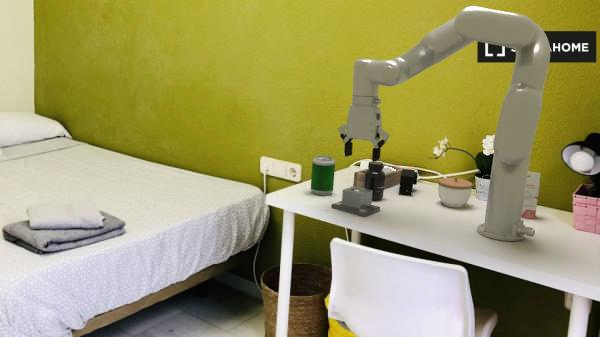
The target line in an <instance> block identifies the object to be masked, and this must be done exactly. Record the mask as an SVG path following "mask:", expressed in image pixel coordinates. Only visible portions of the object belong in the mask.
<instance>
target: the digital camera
mask: <svg viewBox="0 0 600 337" xmlns="http://www.w3.org/2000/svg"><path fill="white" fill-rule="evenodd" d="M418 173H419V172H418V171H415V169H407V168H405V169H402V173H401V177H400V184H399V188H398V189H399V190H398V196H404V197H405V196H406V197H412V195H413V191H414V190H413V189H414V185H415V186H417V184H418V175H419V174H418Z"/></svg>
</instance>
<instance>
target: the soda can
mask: <svg viewBox="0 0 600 337" xmlns="http://www.w3.org/2000/svg"><path fill="white" fill-rule="evenodd" d="M335 170H336V161H335V160H334V158H333V157H331V156H326V155H317V156H315V157H314V158H313V159H312V164H311V176H310V178H311V179H310V191H311V192H312V193H313V194H314V195H317V196H329V195H331V193H333V192H334V185H335V184H334V182H335Z"/></svg>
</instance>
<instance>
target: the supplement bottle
mask: <svg viewBox="0 0 600 337" xmlns="http://www.w3.org/2000/svg"><path fill="white" fill-rule="evenodd" d="M381 162H382V161H375V162H374V161H372V160H371V161H368V166H367V169H368V168H369V169H368V170H366V171H365V174H364V184H363V188H365V189H369V190H373V193H372V202H373V201H375V202H377V201H382V200H383V199H384V194H385V189H384V184H385V173H384V172H383V171H382V169H383V164H384V162H383V163H381Z"/></svg>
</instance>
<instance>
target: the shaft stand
mask: <svg viewBox="0 0 600 337" xmlns="http://www.w3.org/2000/svg"><path fill="white" fill-rule="evenodd" d="M354 191H356V192H361V190H360V189H354ZM330 209H334V210H337V211H342V212H344V213H348V214H351V215H355V216H359V217H363V218H366V217H369V216H371V215H373V214H376V213H379V212H380V211H381V206H378V205H374V204H371V206H370V207H368V208H365V209H360V210H356V209H353V208H349V207H345V206H342V200H340V201H337V202H334V203H331V206H330Z"/></svg>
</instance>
